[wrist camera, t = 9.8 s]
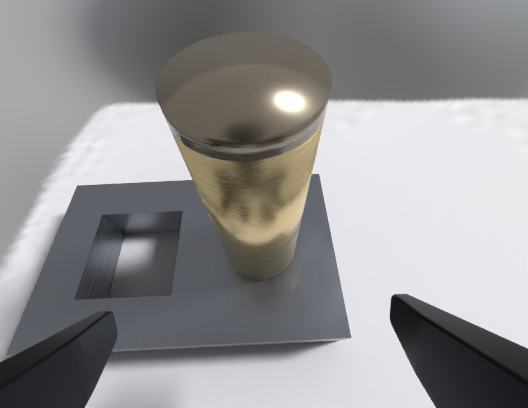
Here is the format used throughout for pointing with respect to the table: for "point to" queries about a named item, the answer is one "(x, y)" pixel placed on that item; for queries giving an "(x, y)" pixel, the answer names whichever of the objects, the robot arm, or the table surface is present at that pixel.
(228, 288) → the plate
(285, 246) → the gold metal can
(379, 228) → the table surface
